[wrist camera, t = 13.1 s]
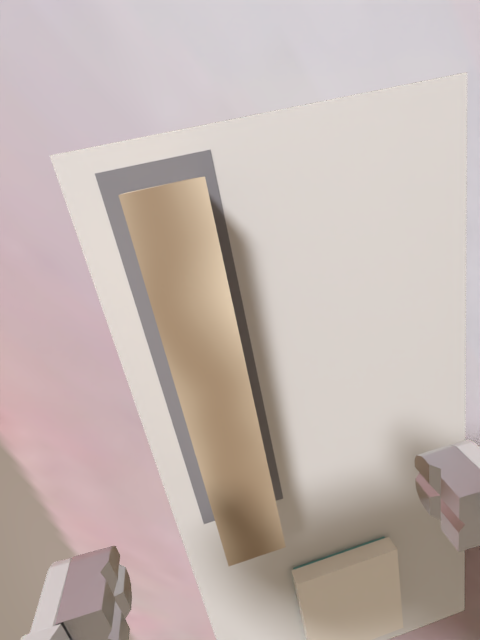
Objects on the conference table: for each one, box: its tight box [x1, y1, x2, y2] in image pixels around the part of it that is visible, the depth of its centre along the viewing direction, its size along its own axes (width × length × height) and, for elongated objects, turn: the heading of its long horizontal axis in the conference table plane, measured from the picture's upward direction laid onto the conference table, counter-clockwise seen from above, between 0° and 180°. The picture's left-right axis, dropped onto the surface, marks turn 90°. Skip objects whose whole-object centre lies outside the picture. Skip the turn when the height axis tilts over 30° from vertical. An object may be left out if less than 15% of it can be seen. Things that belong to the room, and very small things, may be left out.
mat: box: [50, 72, 467, 640], centre depth 24 cm, size 19×38×1 cm, turn 12°
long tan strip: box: [119, 177, 286, 566], centre depth 19 cm, size 3×18×4 cm, turn 12°
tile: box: [291, 537, 403, 640], centre depth 28 cm, size 7×1×8 cm
